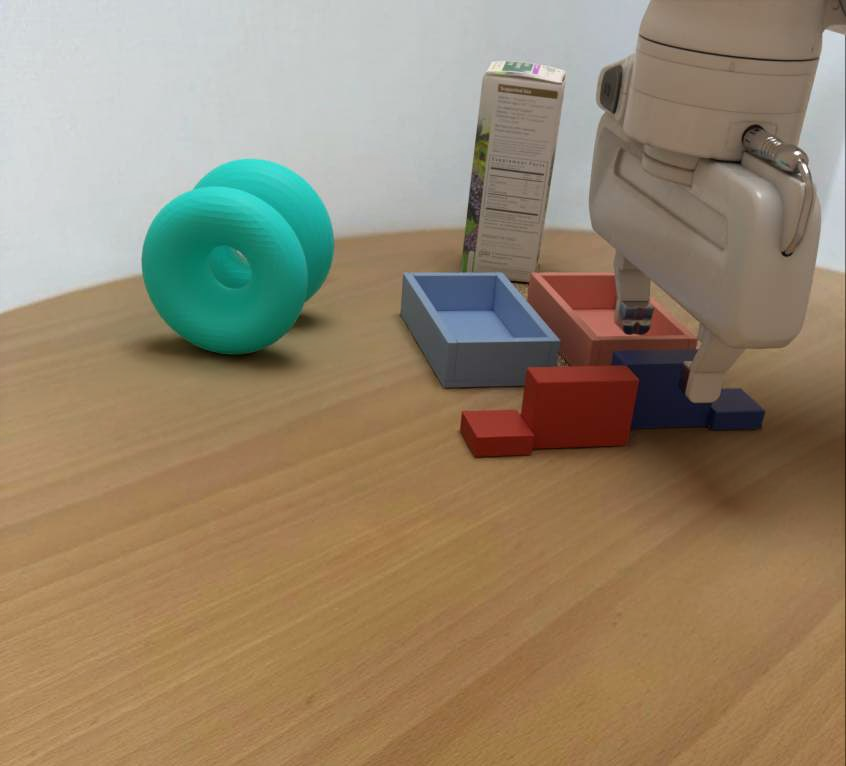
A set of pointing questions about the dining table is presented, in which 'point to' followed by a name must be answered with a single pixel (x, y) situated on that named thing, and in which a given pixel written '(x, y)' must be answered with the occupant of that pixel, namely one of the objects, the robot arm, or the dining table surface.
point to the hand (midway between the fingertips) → (661, 362)
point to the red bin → (597, 318)
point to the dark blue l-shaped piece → (682, 395)
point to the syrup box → (512, 168)
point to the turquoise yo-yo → (238, 256)
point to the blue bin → (476, 328)
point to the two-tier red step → (558, 412)
